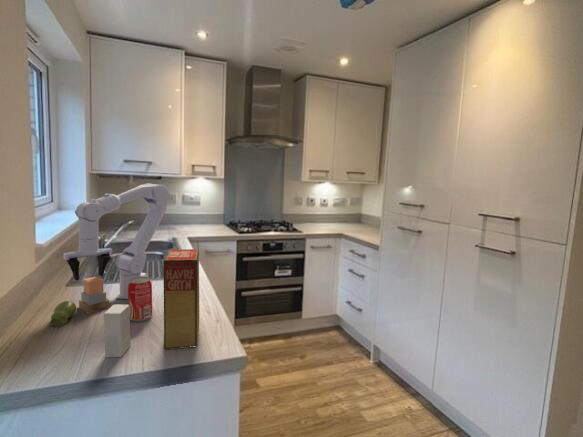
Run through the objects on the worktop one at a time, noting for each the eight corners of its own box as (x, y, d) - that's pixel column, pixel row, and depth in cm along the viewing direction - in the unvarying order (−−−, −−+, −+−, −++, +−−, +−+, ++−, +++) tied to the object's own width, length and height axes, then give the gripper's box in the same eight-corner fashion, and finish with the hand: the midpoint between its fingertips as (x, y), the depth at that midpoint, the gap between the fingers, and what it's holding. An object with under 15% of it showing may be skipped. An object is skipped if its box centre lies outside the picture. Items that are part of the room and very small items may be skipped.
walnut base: (100, 303, 123) (100, 295, 123) (109, 308, 119) (109, 300, 118) (79, 308, 118) (78, 300, 117) (87, 314, 113) (87, 305, 113)
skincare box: (114, 345, 94) (113, 303, 92) (130, 345, 94) (130, 304, 93) (104, 357, 88) (103, 313, 86) (121, 357, 88) (120, 313, 87)
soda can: (156, 315, 114) (156, 278, 112) (140, 324, 107) (140, 284, 105) (139, 312, 116) (139, 274, 114) (123, 320, 109) (122, 280, 108)
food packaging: (168, 327, 106) (168, 248, 103) (199, 326, 108) (201, 248, 105) (162, 349, 93) (162, 260, 90) (198, 347, 95) (199, 259, 92)
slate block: (98, 296, 121) (98, 288, 121) (106, 300, 118) (106, 292, 117) (81, 301, 117) (81, 292, 116) (89, 305, 113) (88, 296, 113)
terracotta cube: (97, 288, 120) (97, 276, 120) (103, 292, 118) (103, 279, 117) (83, 291, 117) (83, 279, 116) (89, 295, 114) (89, 282, 113)
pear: (78, 297, 112) (64, 315, 102) (80, 312, 113) (66, 330, 104) (59, 297, 111) (43, 315, 101) (61, 312, 112) (45, 331, 103)
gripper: (105, 234, 123) (105, 271, 125) (59, 238, 112) (60, 278, 114) (115, 237, 119) (114, 275, 121) (67, 242, 108) (68, 283, 109)
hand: (88, 277), depth 117 cm, fingers open, 7 cm apart
